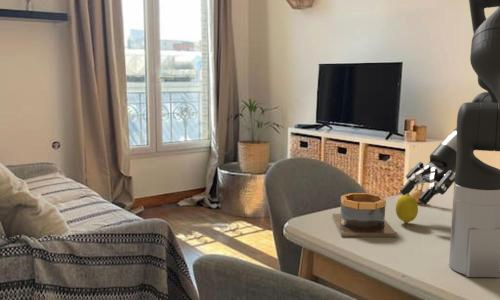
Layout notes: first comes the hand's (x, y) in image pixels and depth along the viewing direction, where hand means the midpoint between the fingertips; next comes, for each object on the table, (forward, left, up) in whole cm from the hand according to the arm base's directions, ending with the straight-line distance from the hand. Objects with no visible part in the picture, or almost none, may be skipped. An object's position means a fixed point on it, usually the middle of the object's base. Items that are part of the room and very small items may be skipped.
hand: (411, 198), depth 128 cm
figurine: (+22, -9, -7) cm, 24 cm away
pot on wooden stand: (-3, +13, -7) cm, 15 cm away
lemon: (0, +1, -7) cm, 7 cm away
